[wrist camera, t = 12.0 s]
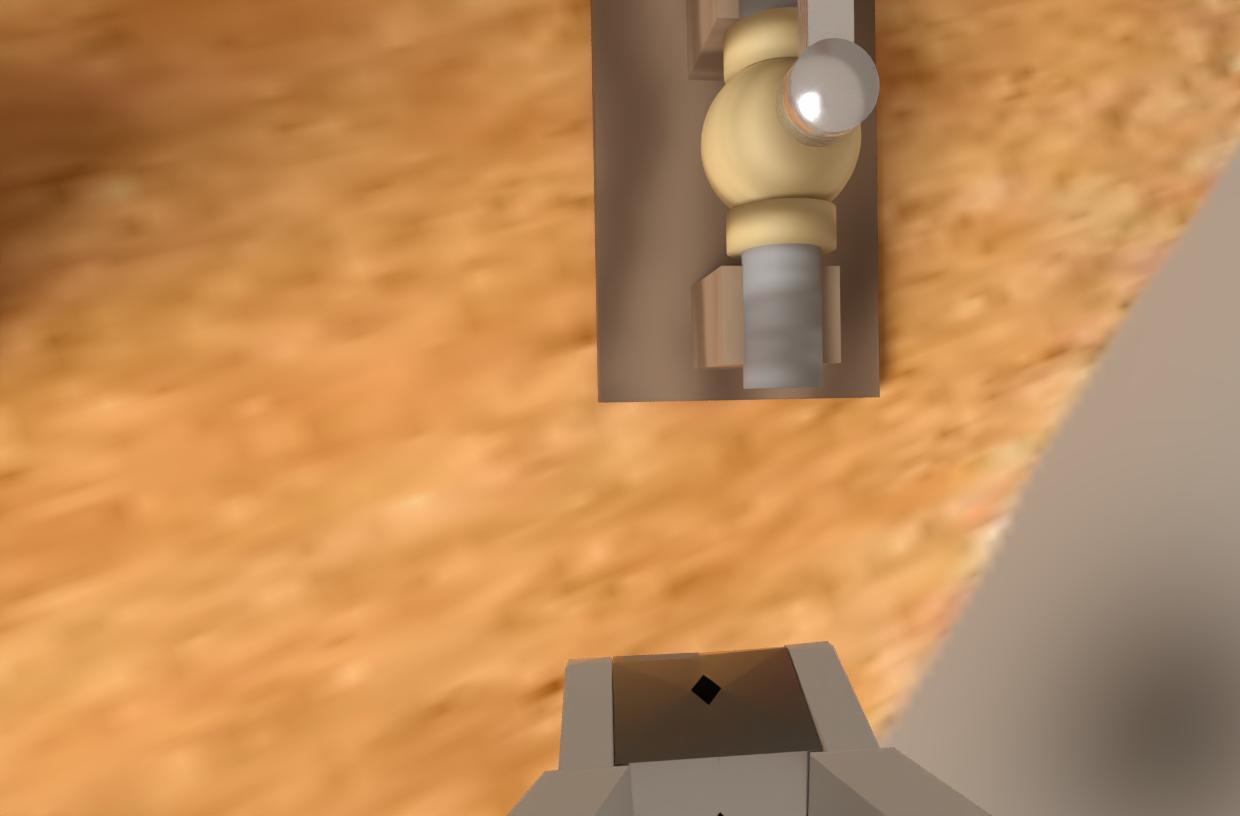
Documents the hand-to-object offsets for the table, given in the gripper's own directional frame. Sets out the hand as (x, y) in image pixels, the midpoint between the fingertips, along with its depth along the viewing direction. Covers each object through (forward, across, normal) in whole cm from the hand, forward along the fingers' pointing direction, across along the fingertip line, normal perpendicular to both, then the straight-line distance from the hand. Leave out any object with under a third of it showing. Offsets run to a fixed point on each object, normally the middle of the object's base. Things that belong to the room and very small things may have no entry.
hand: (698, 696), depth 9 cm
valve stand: (+33, -6, -3) cm, 33 cm away
